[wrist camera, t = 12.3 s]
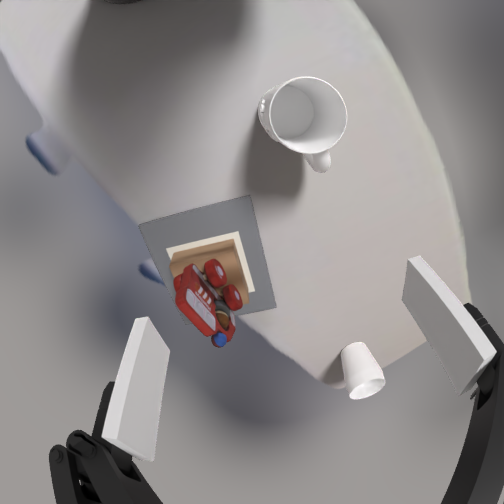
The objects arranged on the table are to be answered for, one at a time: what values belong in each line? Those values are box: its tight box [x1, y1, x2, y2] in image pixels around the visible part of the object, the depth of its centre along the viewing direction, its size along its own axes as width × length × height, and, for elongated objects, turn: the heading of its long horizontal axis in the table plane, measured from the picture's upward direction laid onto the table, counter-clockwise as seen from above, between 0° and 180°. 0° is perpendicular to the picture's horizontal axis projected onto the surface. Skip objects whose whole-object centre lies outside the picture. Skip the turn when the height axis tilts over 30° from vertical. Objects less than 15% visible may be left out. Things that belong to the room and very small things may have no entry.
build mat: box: [138, 195, 277, 324], centre depth 45 cm, size 22×18×1 cm
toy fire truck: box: [173, 259, 243, 347], centre depth 37 cm, size 7×12×10 cm, turn 26°
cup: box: [341, 342, 386, 399], centre depth 55 cm, size 9×9×12 cm
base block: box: [169, 239, 249, 305], centre depth 43 cm, size 10×10×4 cm
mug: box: [258, 77, 347, 173], centre depth 29 cm, size 8×12×12 cm
